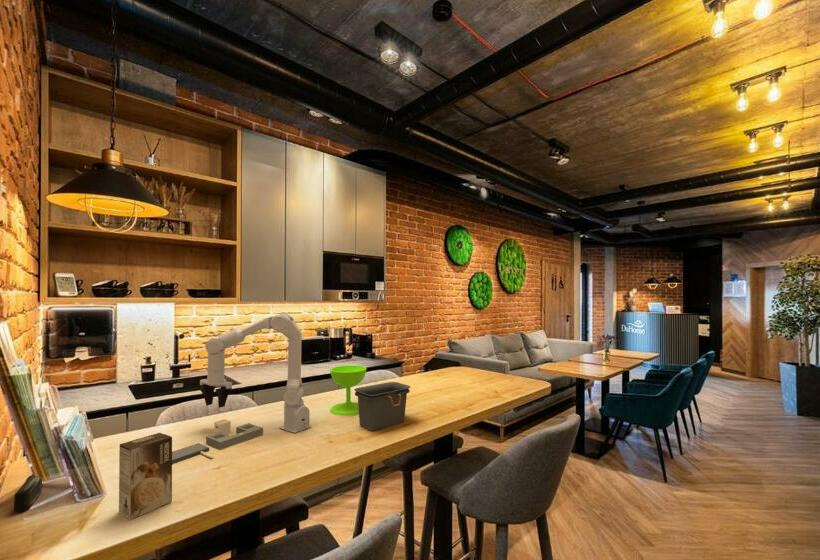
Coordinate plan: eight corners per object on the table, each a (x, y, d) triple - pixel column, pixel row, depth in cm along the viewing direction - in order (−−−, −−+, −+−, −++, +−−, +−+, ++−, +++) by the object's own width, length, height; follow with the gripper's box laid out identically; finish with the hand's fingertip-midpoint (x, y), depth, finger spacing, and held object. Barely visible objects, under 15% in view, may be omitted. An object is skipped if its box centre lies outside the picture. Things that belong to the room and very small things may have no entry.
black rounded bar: (10, 515, 87) (33, 488, 100) (28, 511, 88) (49, 485, 101) (11, 493, 87) (34, 469, 100) (29, 489, 89) (49, 466, 102)
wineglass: (350, 417, 155) (350, 374, 155) (322, 411, 163) (322, 370, 164) (373, 407, 168) (373, 367, 169) (346, 402, 177) (346, 364, 177)
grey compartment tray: (263, 434, 136) (263, 427, 137) (220, 449, 123) (220, 442, 123) (248, 429, 141) (248, 422, 142) (205, 443, 128) (206, 436, 128)
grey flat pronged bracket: (220, 456, 118) (220, 452, 118) (176, 472, 108) (176, 468, 108) (198, 446, 126) (198, 442, 126) (155, 460, 115) (155, 456, 115)
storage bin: (392, 413, 160) (392, 380, 160) (417, 423, 148) (417, 386, 148) (350, 425, 145) (350, 388, 146) (374, 437, 134) (374, 396, 134)
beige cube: (230, 433, 138) (230, 421, 138) (219, 437, 134) (219, 424, 134) (224, 431, 140) (224, 419, 140) (213, 434, 137) (214, 422, 137)
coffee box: (159, 494, 96) (161, 431, 96) (172, 501, 92) (173, 436, 93) (117, 512, 88) (118, 443, 89) (129, 521, 85) (131, 449, 85)
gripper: (238, 368, 142) (238, 405, 141) (211, 366, 147) (211, 400, 147) (223, 372, 135) (222, 410, 135) (195, 369, 141) (194, 405, 140)
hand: (215, 405), depth 140 cm, fingers open, 6 cm apart
